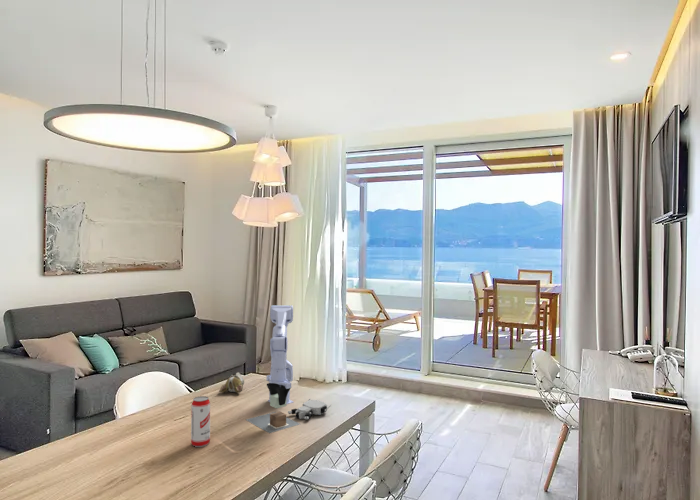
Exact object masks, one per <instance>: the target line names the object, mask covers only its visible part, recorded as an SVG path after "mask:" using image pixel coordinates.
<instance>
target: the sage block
mask: <svg viewBox="0 0 700 500" xmlns="http://www.w3.org/2000/svg"><path fill="white" fill-rule="evenodd" d="M269 406H270V407H272V408H275V409H280V408H283V407H287V404H286V401H285V404H284V405H279V398H278V393H277V394H273V395H270V402H269Z"/></svg>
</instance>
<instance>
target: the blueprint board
mask: <svg viewBox="0 0 700 500" xmlns="http://www.w3.org/2000/svg"><path fill="white" fill-rule="evenodd" d="M275 412H276V411H273V412H269V413H265V414H262V415H257V416H253V417H249V418H247V419H245V421H247V422H249V423H251V424H252V425H254V426H256V427H258V428H259V429H261V430H263V431H265V432H266V433H269V434H272V433H275V432H279V431H282V430H286V429H289V428H292V427H296V426H298V425H301V423H300V422H297V421H295V420H293V419H291V418H289V417H287V416H286V425H284V426H280V427H277V428H276V427H274V426H272V425H270V414H272V413H275Z"/></svg>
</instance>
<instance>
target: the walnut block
mask: <svg viewBox="0 0 700 500" xmlns="http://www.w3.org/2000/svg"><path fill="white" fill-rule="evenodd" d="M274 412H275V413H272V412H271V413H272V414H270V425H272V426H274V427H276V428H277V427H280V426H284V425H286V417H287V414H286V413H284V412H282V411H274Z"/></svg>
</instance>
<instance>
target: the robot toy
mask: <svg viewBox="0 0 700 500" xmlns="http://www.w3.org/2000/svg"><path fill="white" fill-rule="evenodd" d="M330 407H332V404H330V405H329V406H328V404H327V403H326V402H324V401H322V400H320V399H319V400H318V399H311V398H309V399H308V400H306V401H304V402H303V404H302V406H300V407H298V408H293V409H291V410H289V411H287V414H289V415H295V418H297V419H299V420H300V419H301V420H303V419H304V420H310V419H311V418H312V416H313V415H315V416H317V415H318V416H319V415H323V414H324V413H327V411H328V409H329V408H330Z"/></svg>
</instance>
